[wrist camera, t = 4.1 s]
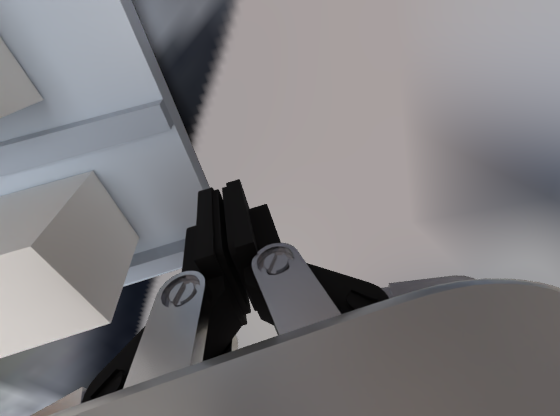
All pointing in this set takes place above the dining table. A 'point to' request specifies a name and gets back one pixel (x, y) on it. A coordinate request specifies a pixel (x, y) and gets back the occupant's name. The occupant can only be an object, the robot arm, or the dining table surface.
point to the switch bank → (101, 120)
